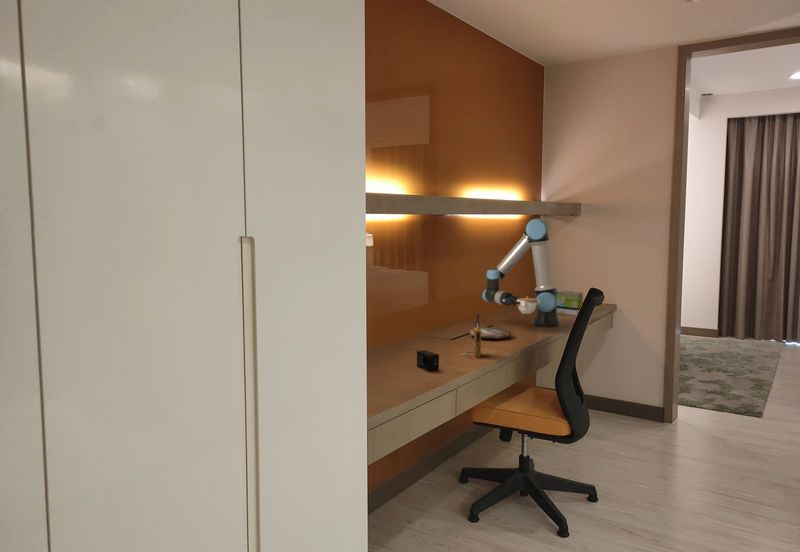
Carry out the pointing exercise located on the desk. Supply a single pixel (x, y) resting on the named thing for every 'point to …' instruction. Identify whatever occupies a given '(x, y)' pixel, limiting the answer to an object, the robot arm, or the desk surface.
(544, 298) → the robot arm
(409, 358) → the desk surface
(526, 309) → the lidded jar
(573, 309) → the tea box
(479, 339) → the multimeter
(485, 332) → the turntable
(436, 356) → the digital camera
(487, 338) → the turntable pedestal
